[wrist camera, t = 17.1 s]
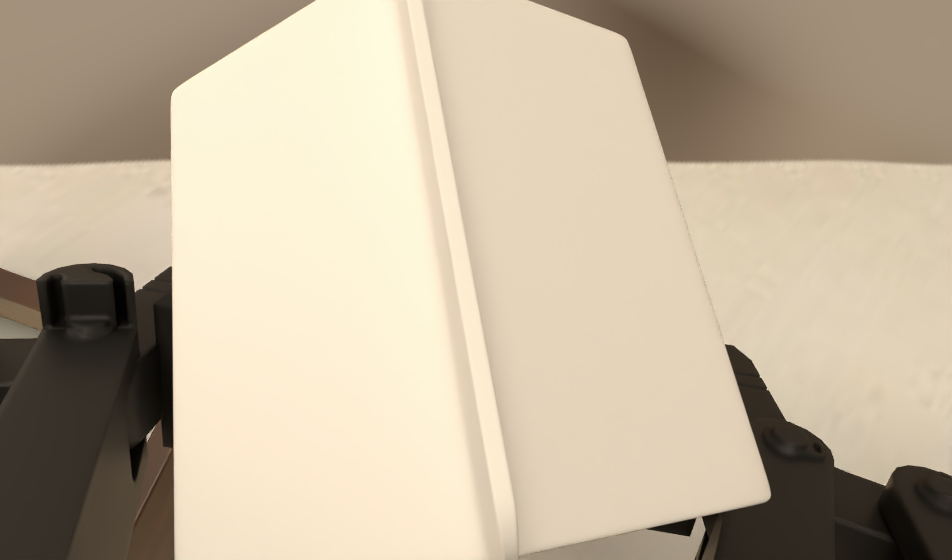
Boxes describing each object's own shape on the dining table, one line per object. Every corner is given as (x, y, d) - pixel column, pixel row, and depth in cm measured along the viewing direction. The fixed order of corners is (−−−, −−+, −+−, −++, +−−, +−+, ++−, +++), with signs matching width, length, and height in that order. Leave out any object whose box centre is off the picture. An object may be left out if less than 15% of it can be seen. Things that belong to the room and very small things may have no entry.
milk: (511, 370, 26) (732, -232, 6) (543, 530, 24) (1071, 467, 4) (359, 395, 26) (8, -178, 5) (377, 562, 24) (-99, 691, 3)
